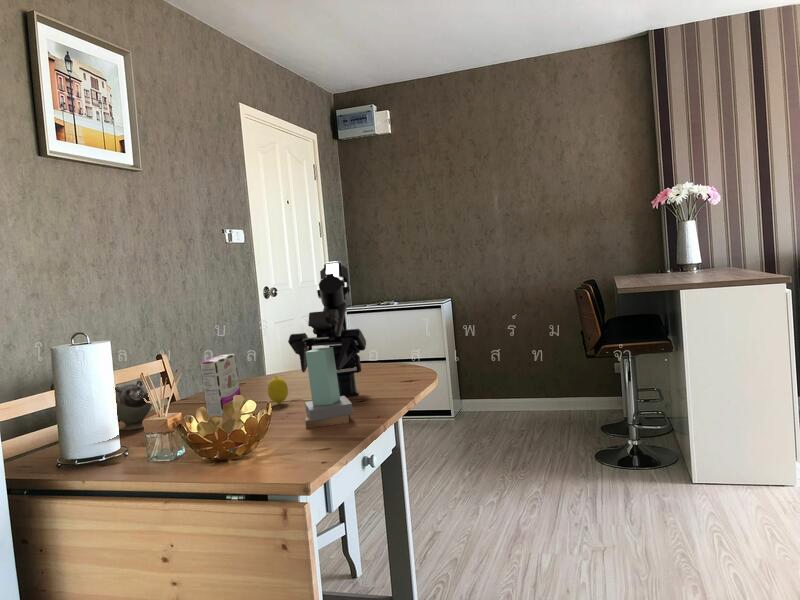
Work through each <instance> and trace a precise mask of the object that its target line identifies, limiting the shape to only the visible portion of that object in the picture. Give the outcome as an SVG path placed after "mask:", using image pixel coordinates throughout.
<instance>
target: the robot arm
mask: <svg viewBox="0 0 800 600" xmlns="http://www.w3.org/2000/svg"><path fill="white" fill-rule="evenodd" d="M319 275H320V281H319V283H318V285H317V289H316V293H317V298H319V300H321V303H322V306H323V309H322V310H320V311H312V312H309V313H308V322H307V323H308V324H307V325H308V327H311V328H312V333H313V335H316V336H315V337H313V336H312V337H309V336H308V334H306V332H299V333H292V334H290V335H289V338H288V340H287V342H288V344H289V346H290V347H291V348H292V351H293V352H294V353H295V355H299V360H300V361H299V362H300V367H301V372H302V373H305V372H306V371H307V370H308V367H307V360H306V352H307V351H310V350H313V347H319V346H325V347H333V350H334V358H335V365H336V372H337V379H338V387H339V394H340V396H345V397H352V396H358V395H359V388H357V384H356V376H355V374H359V373H361V372H362V364H361V357H360V355H359V353H360V352H361V351H364V350H365V349H366V347H367V340H366V338H365V336H364V334H363V332H362V330H361V329H359V328H353V329H348V327H347V318H346V312H347V306H348V305H347V304H346V303H347V302H345V300H346V299H347V298H346V297H347V296H349V292H350V291H351V288H350V284H351V283H350V276H349V269H348V268H347V267H345V266H344V265H342V261H339V260H334V261H326V262H325V263H323V268H322V269H321V270H320V271H319Z"/></svg>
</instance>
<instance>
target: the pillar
mask: <svg viewBox="0 0 800 600" xmlns="http://www.w3.org/2000/svg"><path fill="white" fill-rule="evenodd" d="M306 360H307V372H308V380H309V387H310V388H309V389H310V395H311V401H312V402H313V406H315V405H332V404H334V403H335V402H337V401H338V400H340V394H339V387H338V379H337V372H336V371H337V370H336V365H335V358H334V350H333V347H329V346H327V347H320V348H319V347H318V348H312V350H310V351H307V352H306Z"/></svg>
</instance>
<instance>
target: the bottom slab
mask: <svg viewBox="0 0 800 600" xmlns="http://www.w3.org/2000/svg"><path fill="white" fill-rule="evenodd" d="M349 421H350V415H344V416H338V417H332V418H326V419H321V420H315V421H311V420H310V418H309V417H308V415H307V414H306V418H305V421H304V422H305V429H309V428H310V429H311V427H313V428H318V426H320V427H326V425H328V426H334V424H336V425H342V424H343V423H344V424H349V423H350V422H349ZM344 424H343V425H344Z"/></svg>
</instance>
